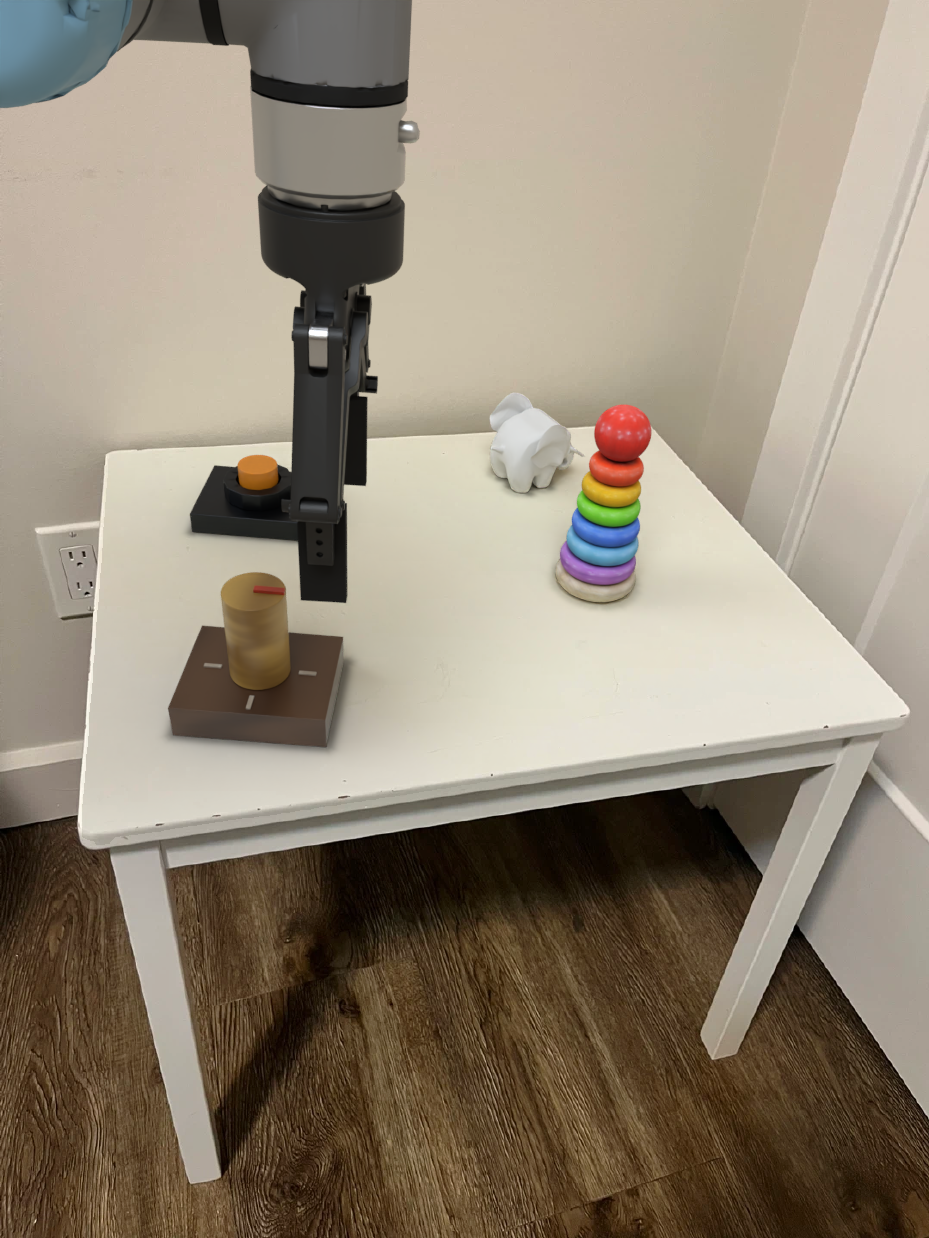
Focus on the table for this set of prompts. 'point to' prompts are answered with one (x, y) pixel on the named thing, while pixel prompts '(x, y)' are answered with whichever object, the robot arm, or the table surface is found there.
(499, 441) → the elephant figurine
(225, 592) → the lock knob
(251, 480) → the bell button
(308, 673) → the plate
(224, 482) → the block
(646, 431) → the stacking toy
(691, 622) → the table surface
